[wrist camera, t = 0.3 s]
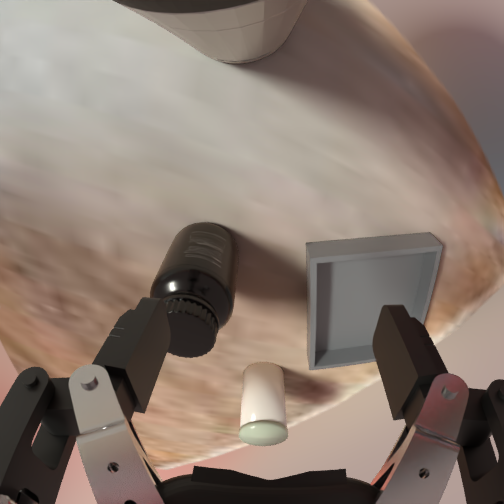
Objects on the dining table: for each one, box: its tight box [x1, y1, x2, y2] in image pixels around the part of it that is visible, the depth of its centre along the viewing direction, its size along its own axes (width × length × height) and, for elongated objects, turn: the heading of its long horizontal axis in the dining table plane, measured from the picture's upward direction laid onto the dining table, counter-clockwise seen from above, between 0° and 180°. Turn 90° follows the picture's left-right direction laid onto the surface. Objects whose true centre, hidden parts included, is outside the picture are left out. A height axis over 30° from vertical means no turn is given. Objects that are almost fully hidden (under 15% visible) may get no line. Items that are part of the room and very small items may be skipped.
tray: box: [306, 232, 443, 370], centre depth 32 cm, size 16×14×3 cm
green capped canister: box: [239, 362, 288, 446], centre depth 36 cm, size 6×6×10 cm
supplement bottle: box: [150, 223, 239, 358], centre depth 26 cm, size 7×7×12 cm
